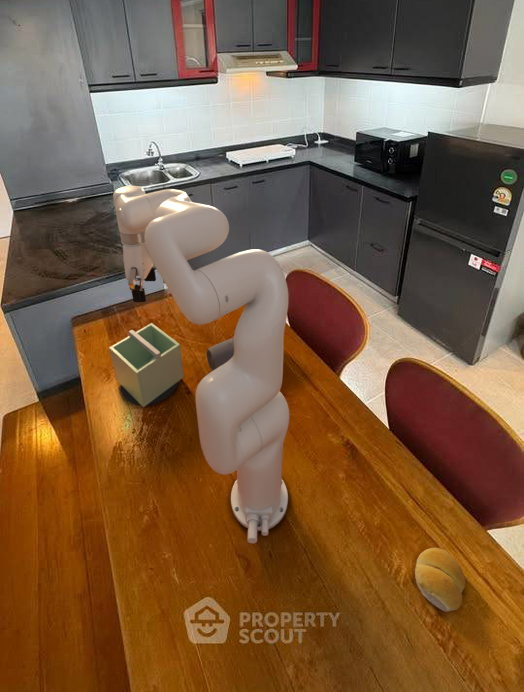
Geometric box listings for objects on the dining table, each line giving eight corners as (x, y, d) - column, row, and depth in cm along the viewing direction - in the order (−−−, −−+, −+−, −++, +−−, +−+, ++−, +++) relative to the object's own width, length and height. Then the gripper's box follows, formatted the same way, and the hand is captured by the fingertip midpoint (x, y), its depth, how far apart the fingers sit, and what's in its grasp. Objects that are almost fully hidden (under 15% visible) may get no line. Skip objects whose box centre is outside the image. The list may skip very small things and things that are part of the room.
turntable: (173, 406, 106) (172, 403, 105) (112, 405, 106) (111, 403, 105) (184, 360, 121) (184, 358, 121) (131, 360, 121) (131, 357, 121)
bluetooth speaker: (218, 386, 112) (216, 361, 107) (206, 365, 119) (204, 340, 115) (284, 359, 122) (285, 334, 117) (269, 341, 129) (270, 317, 125)
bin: (116, 380, 112) (107, 342, 106) (156, 353, 122) (150, 318, 116) (143, 407, 104) (135, 368, 98) (184, 376, 113) (179, 339, 107)
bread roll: (466, 571, 73) (471, 560, 71) (456, 623, 66) (462, 613, 64) (422, 541, 77) (425, 530, 75) (408, 587, 70) (412, 577, 69)
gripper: (132, 220, 104) (141, 273, 111) (108, 251, 88) (120, 310, 96) (159, 220, 104) (166, 273, 111) (140, 251, 88) (150, 310, 96)
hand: (145, 290), depth 104 cm, fingers open, 9 cm apart
